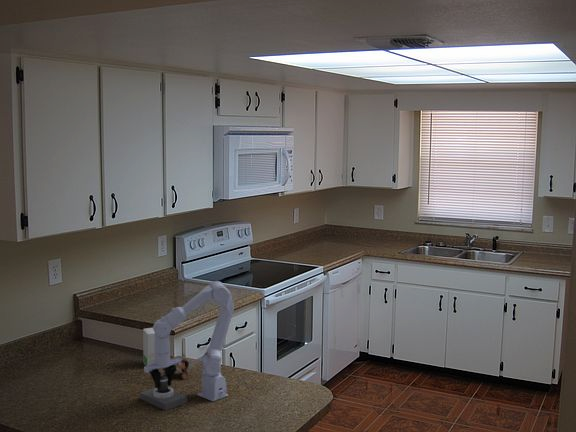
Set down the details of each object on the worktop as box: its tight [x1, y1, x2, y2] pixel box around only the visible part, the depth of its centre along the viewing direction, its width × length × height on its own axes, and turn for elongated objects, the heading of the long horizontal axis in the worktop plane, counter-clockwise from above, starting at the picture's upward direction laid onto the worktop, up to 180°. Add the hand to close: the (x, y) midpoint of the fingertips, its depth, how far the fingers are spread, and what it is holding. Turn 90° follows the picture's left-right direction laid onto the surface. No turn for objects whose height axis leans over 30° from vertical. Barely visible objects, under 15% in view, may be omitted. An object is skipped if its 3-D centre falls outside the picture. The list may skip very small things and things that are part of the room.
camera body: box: [139, 386, 188, 411], centre depth 254 cm, size 16×10×4 cm, turn 46°
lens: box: [158, 373, 169, 393], centre depth 254 cm, size 4×4×6 cm
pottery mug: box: [162, 359, 190, 381], centre depth 281 cm, size 12×10×8 cm
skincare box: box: [142, 327, 155, 366], centre depth 294 cm, size 8×7×16 cm
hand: (163, 386), depth 254 cm, fingers closed on lens, 4 cm apart
